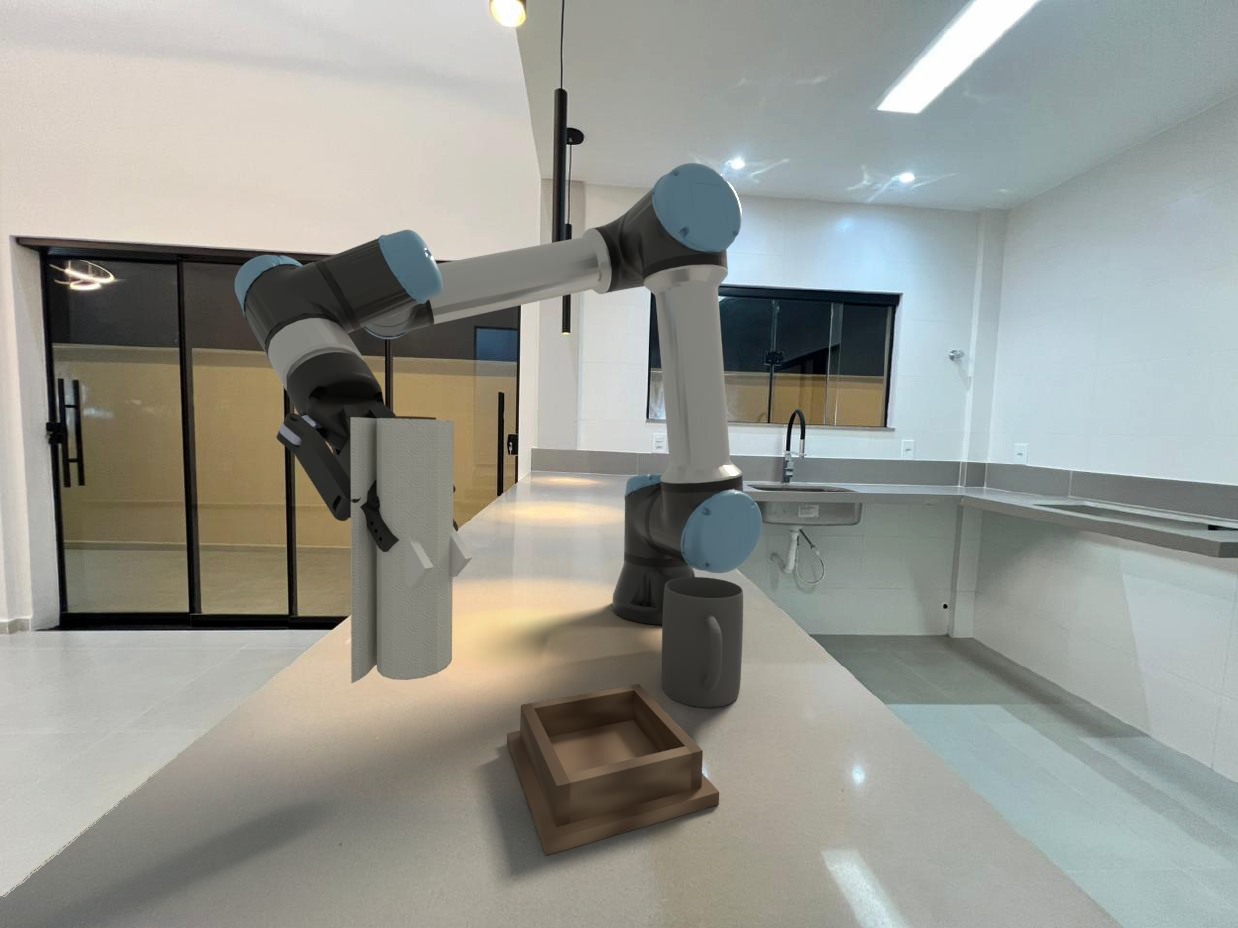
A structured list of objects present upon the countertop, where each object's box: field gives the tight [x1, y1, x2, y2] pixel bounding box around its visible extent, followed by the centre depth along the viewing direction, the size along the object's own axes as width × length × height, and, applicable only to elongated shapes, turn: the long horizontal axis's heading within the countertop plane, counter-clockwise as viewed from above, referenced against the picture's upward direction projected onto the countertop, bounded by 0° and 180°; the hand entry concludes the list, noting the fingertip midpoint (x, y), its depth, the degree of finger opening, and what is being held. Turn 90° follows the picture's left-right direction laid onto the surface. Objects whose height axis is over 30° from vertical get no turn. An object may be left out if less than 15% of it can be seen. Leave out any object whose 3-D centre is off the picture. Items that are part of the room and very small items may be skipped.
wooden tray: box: [506, 683, 720, 856], centre depth 44 cm, size 14×14×4 cm
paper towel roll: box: [350, 415, 455, 684], centre depth 44 cm, size 7×6×21 cm
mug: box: [660, 576, 744, 709], centre depth 57 cm, size 14×9×12 cm
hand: (441, 572), depth 42 cm, fingers closed on paper towel roll, 3 cm apart
